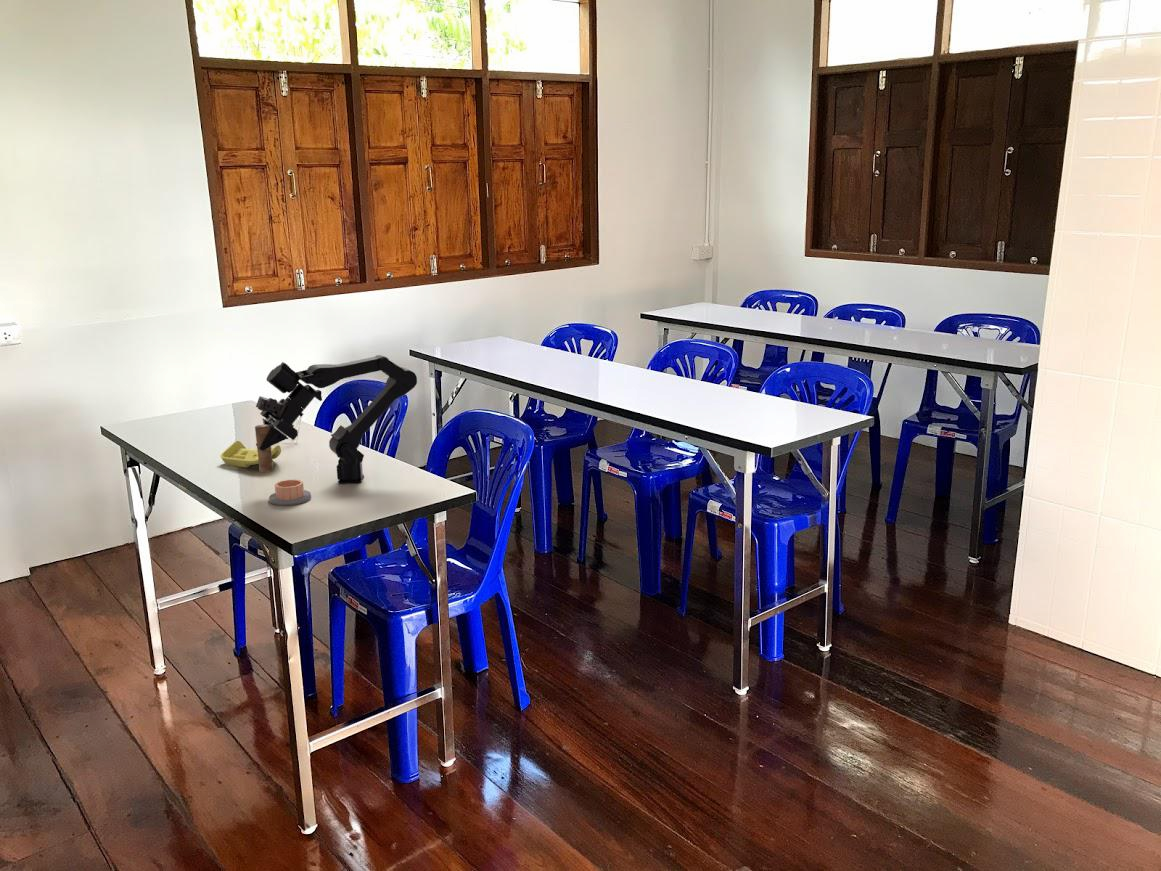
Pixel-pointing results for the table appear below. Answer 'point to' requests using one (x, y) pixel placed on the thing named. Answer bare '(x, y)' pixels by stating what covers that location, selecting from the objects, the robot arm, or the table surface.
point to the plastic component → (244, 455)
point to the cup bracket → (289, 493)
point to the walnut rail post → (266, 454)
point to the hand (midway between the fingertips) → (258, 447)
